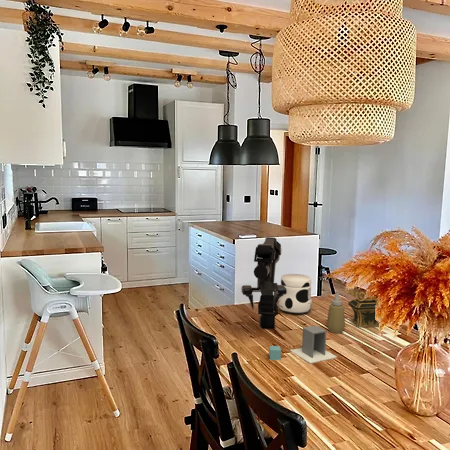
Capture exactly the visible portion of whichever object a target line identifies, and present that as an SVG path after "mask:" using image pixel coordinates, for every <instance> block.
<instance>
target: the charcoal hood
mask: <svg viewBox="0 0 450 450" xmlns="http://www.w3.org/2000/svg"><path fill="white" fill-rule="evenodd" d="M301 336H302V339H301V341H302V343H301V348H302V352H303V353H305V354H306V355H308V356H310V357H311V358H313V350H316V351H318V352H319V353H321V354H323V355H325V351H327V349H326V347H327V346H326V345H327V330H325V329H324V328H322V327H320V326H318V325H310V326H305V327H302V335H301Z"/></svg>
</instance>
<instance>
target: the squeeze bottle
mask: <svg viewBox="0 0 450 450" xmlns="http://www.w3.org/2000/svg"><path fill="white" fill-rule="evenodd" d="M345 318H346V316H345V305H343V300H341V298H340V293H339V292H335V296H334V299H332V300H331V304H330V305H329V307H328V314H327V319H326V320H327V321H326V325H327V327H328V328H327V329H328V331H329V332H330V333H333V334H341V333H343V331H344V328H345V326H346V319H345Z"/></svg>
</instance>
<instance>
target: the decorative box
mask: <svg viewBox="0 0 450 450" xmlns="http://www.w3.org/2000/svg"><path fill="white" fill-rule="evenodd" d="M358 291H359V290H358V288H357V287H356V288H355V287H354V289H353V290H346V291H345V293H347V294H348V295H350V296H351V297H354V298H355V299H352V300H349V301H348V306H349V307H350V309H352V311H353V318H352V320H351V321H350V322H351V323H352V324H353V325H354V326H355V325H356V326H355V327H357V328H359V327H363V328H380V327H379V323H378V322H377V321H376V320H375V305H376V301H375V300H373V299H364V296H365V294H366V293H365V292H364V291H359V292H358Z"/></svg>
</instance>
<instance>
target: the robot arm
mask: <svg viewBox="0 0 450 450" xmlns="http://www.w3.org/2000/svg"><path fill="white" fill-rule="evenodd" d="M281 255H282V245H281V243H280V242H278V241H277V237H270V236H269V237H268V236H267V237H265V240H264V242H263V243H258V244H257V246H255V251H254V257H253V258H254V259H253V262H254V263H256V264H257V265H256V266H255V267H254V269H253V274H254V276H255V278H256V279H257V281H256V282H257V283H256V284H257V285H256V287H252V286H251V284H250V285H249V284H248V285H247V284H245V285H242V286H241V291H240V292H241V294H242V295H243V296H245V297H247V298H248V300H249V303H250V306H251V309H252V311H253V310H254V295H253V293H260V297H259V301H258V302H257V313H258V315H260V316H259V319H258V322H259V323H258V324H259V327H260V328H261V329H262V330H264V329H265V330H269V329H270V330H271V329H272V330H273V329H275V330H276V317H277V316H279V305H278V300H279V298H280V297H281V296H283V294H287V289H286V288H285V287H284V286H283V285H281V284H278V283H277V282H275V278H276V277H275V275H276V265H277V263H278V262H279V261H280V256H281Z"/></svg>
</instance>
